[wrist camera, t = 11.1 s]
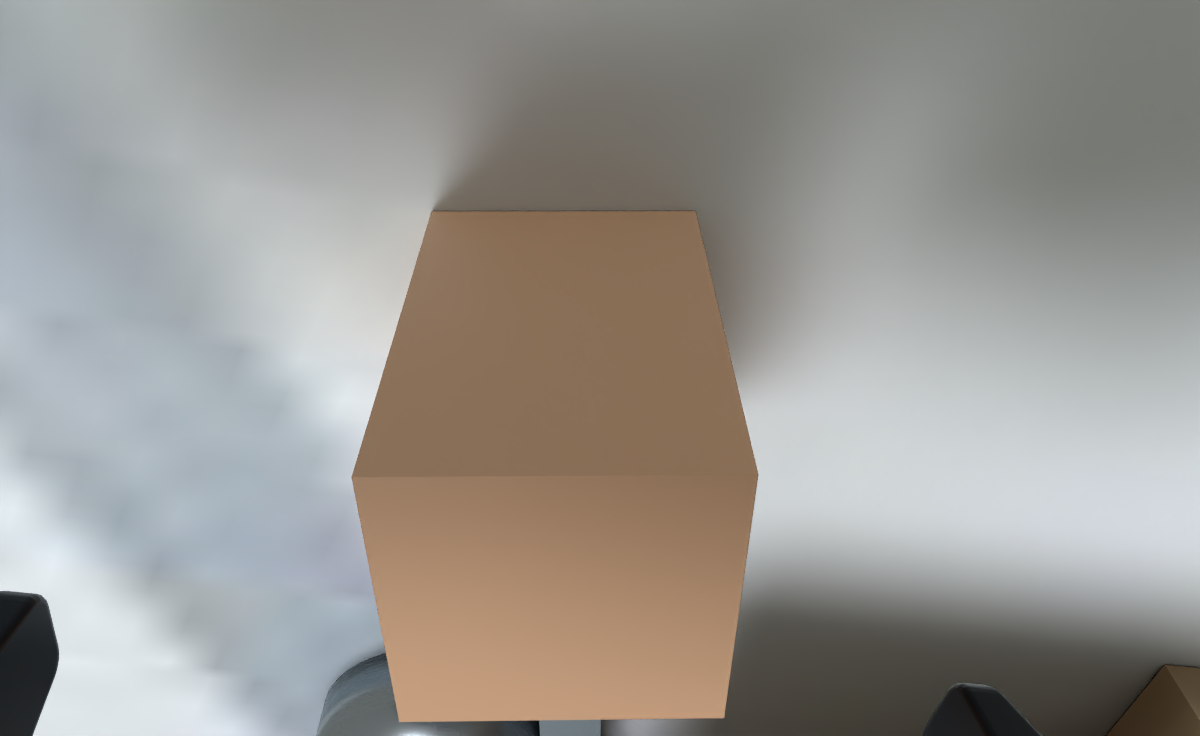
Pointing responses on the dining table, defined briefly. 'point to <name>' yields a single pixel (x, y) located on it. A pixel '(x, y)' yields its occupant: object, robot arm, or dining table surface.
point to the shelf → (1165, 706)
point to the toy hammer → (558, 474)
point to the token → (394, 710)
